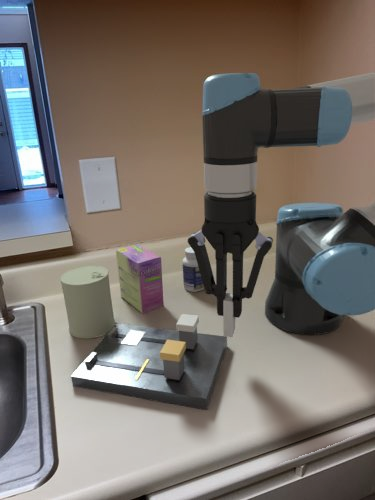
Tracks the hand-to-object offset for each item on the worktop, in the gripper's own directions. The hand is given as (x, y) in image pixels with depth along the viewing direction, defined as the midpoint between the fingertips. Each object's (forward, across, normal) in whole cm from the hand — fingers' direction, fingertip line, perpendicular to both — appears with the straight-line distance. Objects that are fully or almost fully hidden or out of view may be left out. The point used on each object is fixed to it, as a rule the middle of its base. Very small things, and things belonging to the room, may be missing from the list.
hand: (229, 332), depth 64 cm
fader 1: (+4, +7, +8) cm, 11 cm away
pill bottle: (+6, +13, -26) cm, 30 cm away
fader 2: (+4, +7, 0) cm, 8 cm away
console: (+6, +12, +4) cm, 14 cm away
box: (+6, +23, -17) cm, 29 cm away
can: (+6, +29, -5) cm, 30 cm away
